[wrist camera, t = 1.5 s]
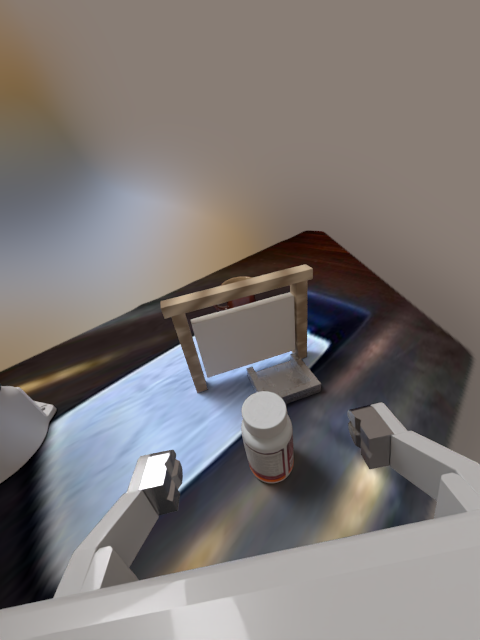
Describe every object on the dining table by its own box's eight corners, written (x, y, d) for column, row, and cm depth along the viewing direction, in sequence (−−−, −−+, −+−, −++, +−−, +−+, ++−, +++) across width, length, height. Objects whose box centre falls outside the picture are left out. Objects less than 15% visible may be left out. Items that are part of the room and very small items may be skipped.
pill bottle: (273, 431, 37) (267, 379, 31) (303, 464, 33) (303, 410, 27) (240, 457, 35) (226, 405, 29) (268, 496, 30) (259, 444, 24)
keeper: (264, 411, 41) (263, 403, 40) (247, 375, 48) (246, 368, 47) (320, 391, 42) (321, 383, 41) (295, 359, 50) (295, 352, 49)
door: (207, 377, 46) (191, 324, 39) (204, 366, 48) (189, 315, 42) (295, 349, 49) (293, 295, 42) (288, 340, 51) (285, 289, 45)
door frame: (192, 394, 46) (160, 308, 36) (190, 385, 48) (160, 301, 38) (311, 355, 50) (312, 268, 40) (305, 348, 52) (305, 264, 42)
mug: (257, 307, 70) (253, 274, 64) (262, 324, 62) (258, 287, 57) (215, 315, 70) (208, 282, 64) (216, 332, 62) (207, 296, 57)
